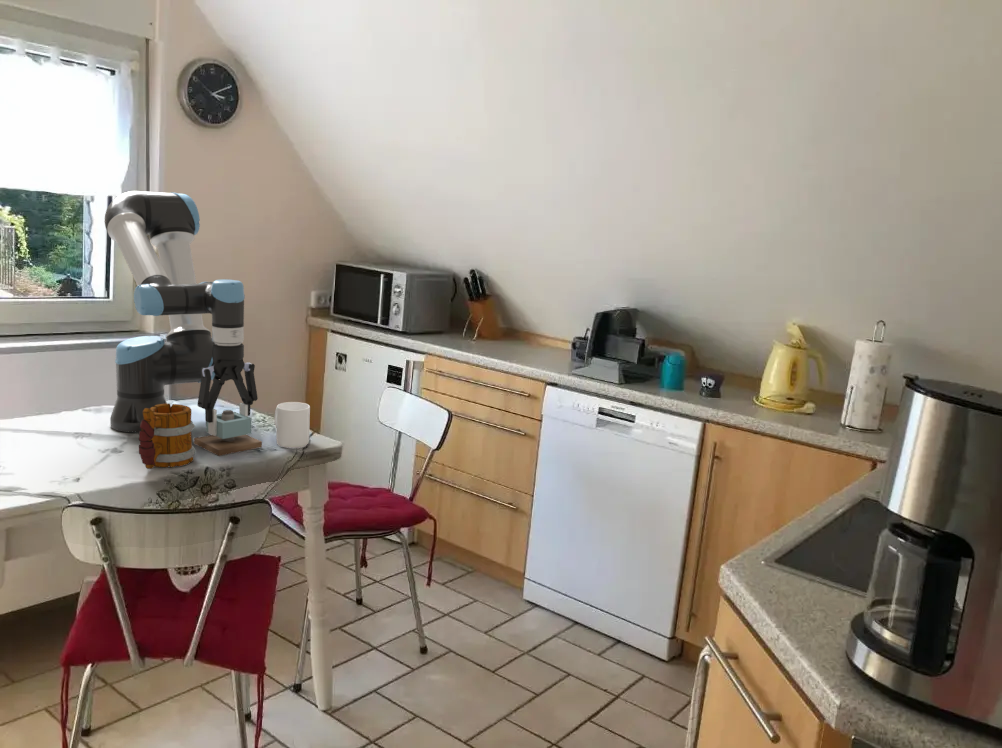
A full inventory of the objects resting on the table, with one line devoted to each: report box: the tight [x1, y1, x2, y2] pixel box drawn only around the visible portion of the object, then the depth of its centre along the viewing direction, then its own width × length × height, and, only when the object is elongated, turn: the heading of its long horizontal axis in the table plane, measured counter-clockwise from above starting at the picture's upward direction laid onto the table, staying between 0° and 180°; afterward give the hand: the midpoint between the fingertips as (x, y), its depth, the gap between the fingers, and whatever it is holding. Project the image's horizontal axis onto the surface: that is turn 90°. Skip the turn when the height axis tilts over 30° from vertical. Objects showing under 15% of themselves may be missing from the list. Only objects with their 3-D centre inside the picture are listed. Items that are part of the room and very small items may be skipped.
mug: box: [138, 403, 197, 470], centre depth 199 cm, size 11×16×15 cm, turn 167°
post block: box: [193, 409, 263, 457], centre depth 216 cm, size 12×12×9 cm
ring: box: [205, 411, 253, 439], centre depth 215 cm, size 8×8×4 cm
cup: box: [274, 401, 311, 449], centre depth 222 cm, size 8×12×10 cm
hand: (228, 431), depth 216 cm, fingers closed on ring, 8 cm apart
